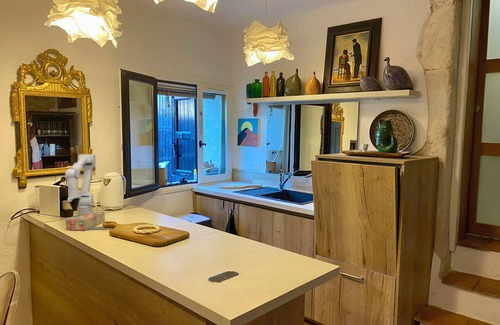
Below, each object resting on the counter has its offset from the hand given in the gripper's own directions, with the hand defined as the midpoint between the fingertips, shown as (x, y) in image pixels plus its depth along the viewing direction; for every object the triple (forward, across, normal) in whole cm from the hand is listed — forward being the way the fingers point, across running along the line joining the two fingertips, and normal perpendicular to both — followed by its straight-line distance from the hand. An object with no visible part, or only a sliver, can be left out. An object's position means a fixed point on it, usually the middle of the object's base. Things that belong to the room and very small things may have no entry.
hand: (74, 210), depth 222 cm
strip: (+10, -5, -13) cm, 17 cm away
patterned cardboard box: (+7, +1, -11) cm, 13 cm away
